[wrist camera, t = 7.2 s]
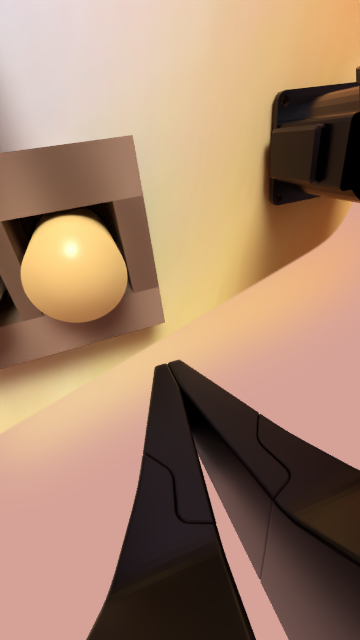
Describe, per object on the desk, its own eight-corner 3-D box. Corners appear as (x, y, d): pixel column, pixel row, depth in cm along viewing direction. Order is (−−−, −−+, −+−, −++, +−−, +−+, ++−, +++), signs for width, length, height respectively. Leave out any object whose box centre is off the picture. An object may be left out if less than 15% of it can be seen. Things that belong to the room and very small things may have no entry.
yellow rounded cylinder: (100, 198, 17) (114, 218, 12) (118, 268, 19) (135, 308, 14) (21, 212, 16) (1, 240, 11) (49, 284, 18) (44, 333, 13)
